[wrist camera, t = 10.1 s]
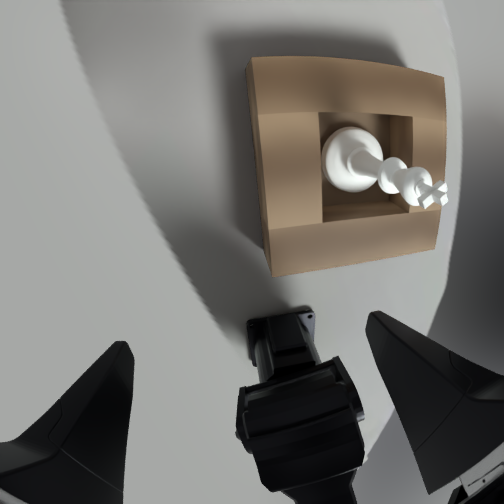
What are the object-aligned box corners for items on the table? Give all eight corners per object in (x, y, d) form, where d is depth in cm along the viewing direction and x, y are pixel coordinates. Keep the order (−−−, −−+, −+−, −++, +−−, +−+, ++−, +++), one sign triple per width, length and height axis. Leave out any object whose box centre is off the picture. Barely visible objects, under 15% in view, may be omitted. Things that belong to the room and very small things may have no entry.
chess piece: (307, 149, 18) (386, 183, 9) (360, 114, 17) (460, 126, 8) (341, 203, 20) (420, 269, 11) (388, 169, 19) (482, 212, 11)
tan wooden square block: (409, 230, 23) (434, 249, 20) (263, 250, 23) (272, 277, 19) (413, 78, 17) (443, 77, 13) (245, 69, 16) (251, 57, 13)
